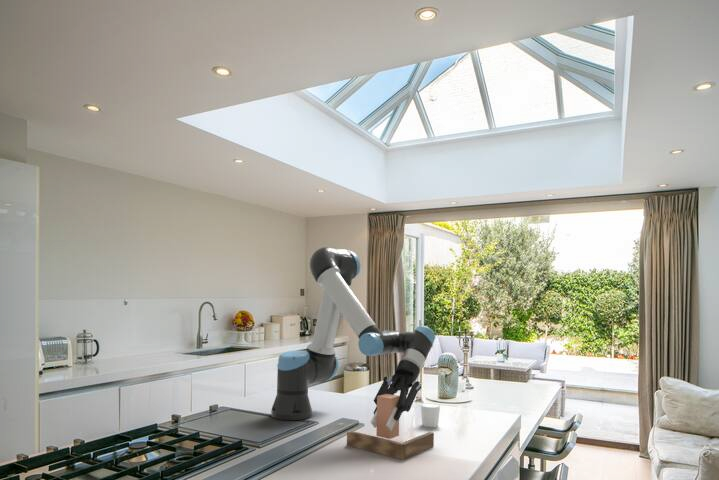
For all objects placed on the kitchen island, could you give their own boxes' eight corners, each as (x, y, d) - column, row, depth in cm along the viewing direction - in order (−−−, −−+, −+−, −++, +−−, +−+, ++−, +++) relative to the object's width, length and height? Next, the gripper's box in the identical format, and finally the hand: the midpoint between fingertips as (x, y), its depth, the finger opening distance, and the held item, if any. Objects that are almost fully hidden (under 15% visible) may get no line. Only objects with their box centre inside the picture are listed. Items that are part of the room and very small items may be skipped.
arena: (346, 445, 158) (347, 431, 158) (379, 433, 171) (379, 421, 172) (403, 459, 145) (403, 445, 145) (433, 446, 159) (433, 432, 159)
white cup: (439, 428, 180) (439, 407, 181) (419, 426, 181) (419, 406, 182) (440, 423, 187) (440, 403, 187) (421, 422, 188) (421, 402, 189)
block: (376, 435, 158) (377, 396, 160) (385, 432, 162) (386, 393, 164) (389, 439, 155) (390, 398, 157) (398, 435, 159) (399, 395, 161)
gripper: (437, 376, 167) (410, 439, 153) (391, 370, 178) (362, 428, 164) (430, 361, 164) (401, 424, 149) (383, 356, 175) (352, 414, 160)
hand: (381, 426), depth 156 cm, fingers closed on block, 5 cm apart
